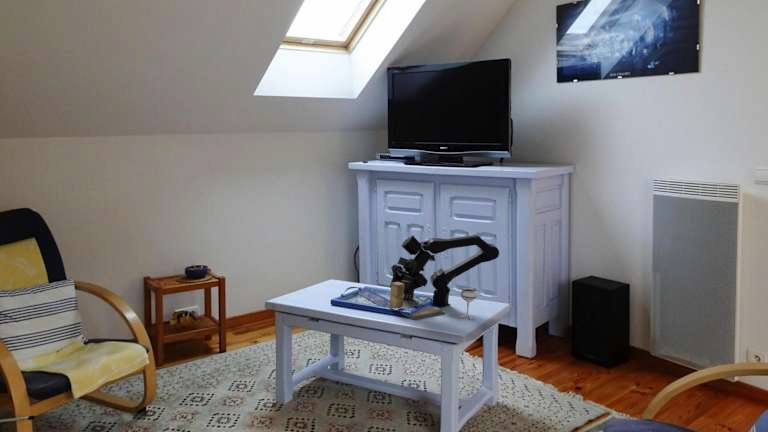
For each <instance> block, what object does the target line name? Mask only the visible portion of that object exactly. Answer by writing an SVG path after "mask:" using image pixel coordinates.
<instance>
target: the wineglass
mask: <svg viewBox="0 0 768 432" xmlns="http://www.w3.org/2000/svg"><path fill="white" fill-rule="evenodd" d="M460 289H461V291H460V297H461V299H462V300H463V301H465V302H466V314H465V315H461V316H460V317H461V319H463V320H472V319H471V318H473V319H474V317H473V316H471V315H469V306H470V303H471V302H473V301H475V300H476V299H477V297H478V288H475V287H470V286H464V287H463V286H462V287H461V288H460Z"/></svg>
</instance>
